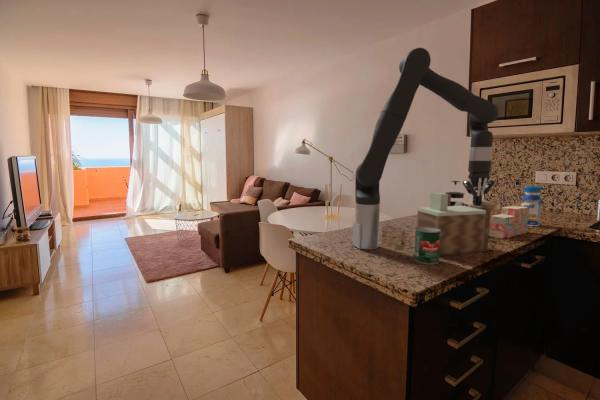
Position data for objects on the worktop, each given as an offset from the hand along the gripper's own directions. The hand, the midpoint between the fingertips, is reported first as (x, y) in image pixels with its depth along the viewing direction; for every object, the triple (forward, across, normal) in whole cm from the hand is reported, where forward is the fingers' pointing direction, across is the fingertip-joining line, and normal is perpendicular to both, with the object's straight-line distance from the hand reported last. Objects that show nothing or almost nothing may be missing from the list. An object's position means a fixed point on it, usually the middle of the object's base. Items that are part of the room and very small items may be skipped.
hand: (477, 205), depth 124 cm
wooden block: (+17, +8, +24) cm, 31 cm away
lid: (+4, -11, 0) cm, 12 cm away
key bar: (+1, +3, 0) cm, 3 cm away
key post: (+17, 0, 0) cm, 17 cm away
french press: (+17, +20, +36) cm, 45 cm away
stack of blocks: (+17, +32, +15) cm, 39 cm away
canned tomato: (+17, -28, -9) cm, 33 cm away
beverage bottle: (+17, +60, +28) cm, 68 cm away
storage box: (+17, -12, 0) cm, 20 cm away
